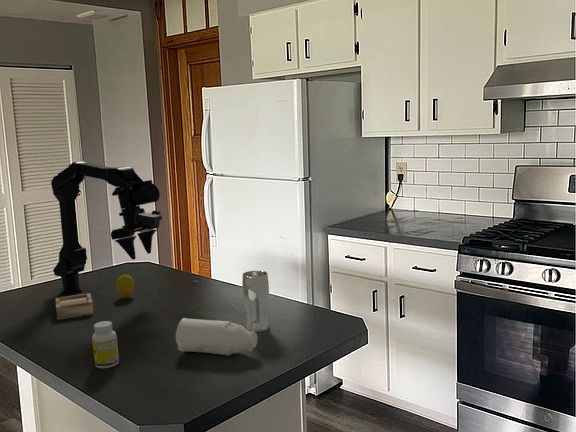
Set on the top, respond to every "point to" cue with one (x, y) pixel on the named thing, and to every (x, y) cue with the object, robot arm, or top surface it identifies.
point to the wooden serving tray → (74, 306)
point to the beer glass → (256, 299)
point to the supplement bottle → (105, 345)
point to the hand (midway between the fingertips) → (141, 256)
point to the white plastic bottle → (214, 337)
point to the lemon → (125, 285)
